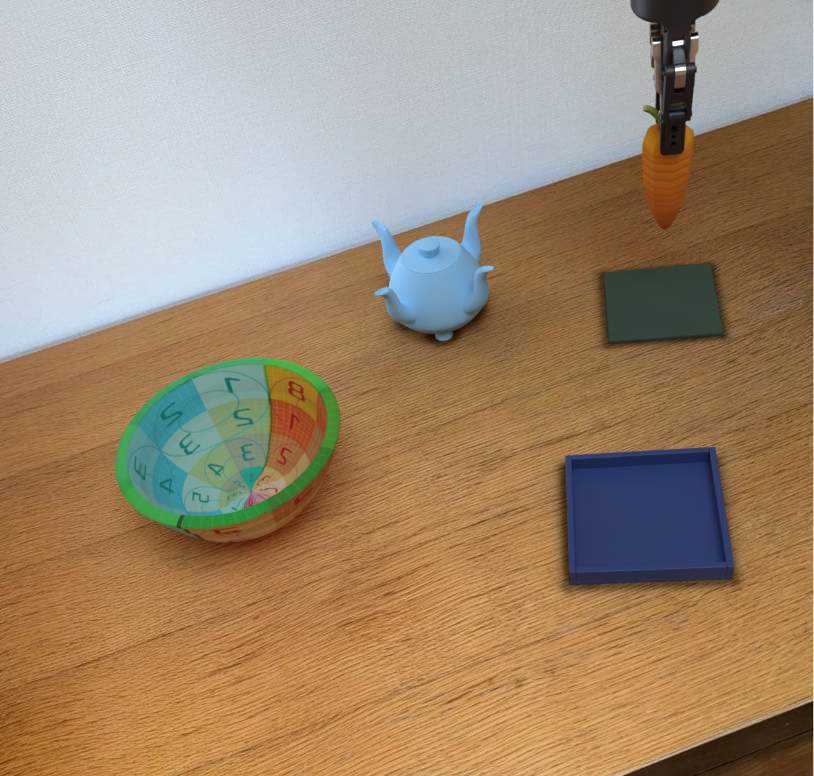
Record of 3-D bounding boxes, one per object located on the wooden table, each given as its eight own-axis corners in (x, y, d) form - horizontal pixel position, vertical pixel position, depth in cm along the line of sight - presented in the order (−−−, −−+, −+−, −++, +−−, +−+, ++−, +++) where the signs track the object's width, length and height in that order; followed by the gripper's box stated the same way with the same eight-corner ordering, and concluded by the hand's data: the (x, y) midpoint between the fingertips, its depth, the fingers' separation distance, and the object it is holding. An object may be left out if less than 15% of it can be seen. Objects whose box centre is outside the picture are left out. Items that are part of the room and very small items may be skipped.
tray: (713, 459, 96) (715, 446, 95) (732, 579, 88) (734, 566, 86) (565, 468, 99) (565, 455, 97) (569, 584, 90) (569, 572, 89)
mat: (710, 265, 114) (710, 262, 113) (722, 335, 106) (723, 332, 106) (603, 275, 116) (603, 272, 115) (608, 344, 108) (608, 341, 108)
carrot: (671, 249, 101) (678, 110, 89) (630, 235, 104) (631, 98, 92) (698, 223, 103) (708, 84, 91) (657, 209, 105) (662, 72, 94)
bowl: (224, 406, 113) (195, 339, 105) (397, 449, 104) (379, 379, 96) (110, 555, 102) (68, 492, 94) (293, 617, 93) (263, 553, 85)
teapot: (491, 273, 119) (483, 200, 112) (503, 345, 111) (494, 271, 103) (386, 290, 121) (370, 219, 113) (389, 363, 112) (373, 291, 105)
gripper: (735, -21, 77) (718, 175, 90) (714, -96, 86) (701, 93, 99) (636, -7, 78) (634, 184, 91) (625, -82, 87) (624, 102, 100)
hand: (669, 136), depth 95 cm, fingers closed on carrot, 5 cm apart
